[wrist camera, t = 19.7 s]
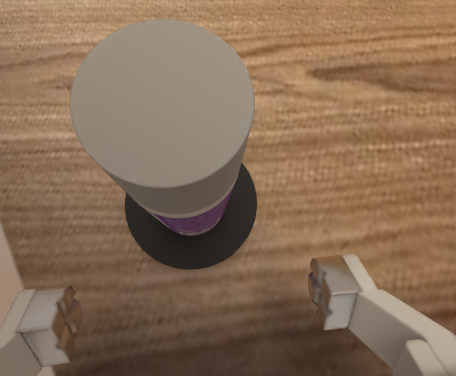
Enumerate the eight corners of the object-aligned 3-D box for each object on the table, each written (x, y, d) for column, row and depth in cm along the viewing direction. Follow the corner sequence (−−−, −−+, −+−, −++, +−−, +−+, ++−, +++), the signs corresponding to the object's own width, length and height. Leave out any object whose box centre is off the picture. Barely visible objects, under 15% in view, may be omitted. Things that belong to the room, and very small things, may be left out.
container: (234, 180, 23) (282, 47, 8) (213, 245, 22) (226, 220, 7) (170, 159, 23) (109, -10, 8) (146, 223, 22) (29, 155, 7)
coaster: (103, 238, 22) (101, 238, 22) (159, 123, 24) (158, 120, 24) (227, 289, 22) (228, 290, 22) (273, 169, 24) (275, 167, 24)
